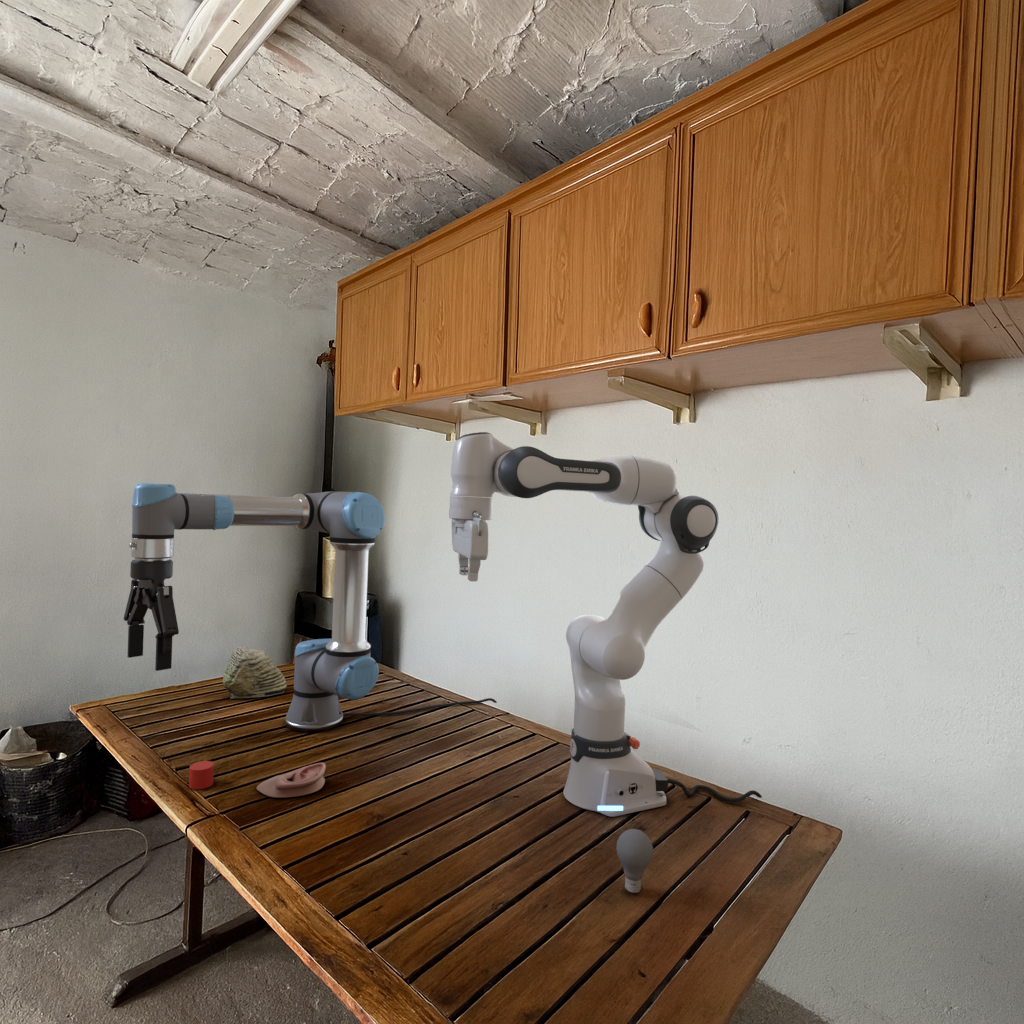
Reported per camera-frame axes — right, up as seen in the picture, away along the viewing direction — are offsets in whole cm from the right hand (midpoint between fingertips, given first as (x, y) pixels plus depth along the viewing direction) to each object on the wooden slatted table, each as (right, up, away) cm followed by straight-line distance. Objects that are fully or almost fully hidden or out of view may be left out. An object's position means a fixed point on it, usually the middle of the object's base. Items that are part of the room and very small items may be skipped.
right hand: (468, 577), depth 131 cm
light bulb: (+29, -50, -25) cm, 63 cm away
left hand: (-65, -17, -1) cm, 67 cm away
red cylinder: (-58, -45, +6) cm, 74 cm away
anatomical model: (-39, -46, +7) cm, 61 cm away
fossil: (-72, -44, +67) cm, 108 cm away
